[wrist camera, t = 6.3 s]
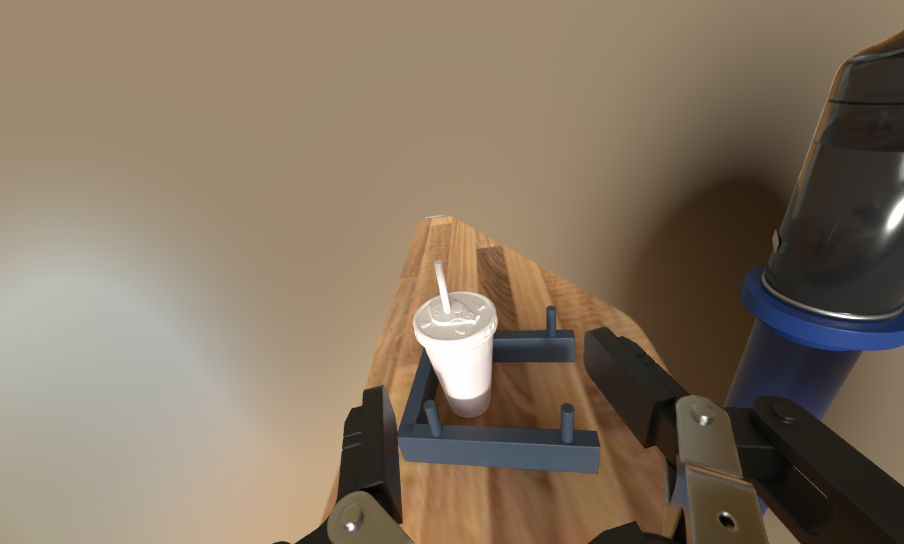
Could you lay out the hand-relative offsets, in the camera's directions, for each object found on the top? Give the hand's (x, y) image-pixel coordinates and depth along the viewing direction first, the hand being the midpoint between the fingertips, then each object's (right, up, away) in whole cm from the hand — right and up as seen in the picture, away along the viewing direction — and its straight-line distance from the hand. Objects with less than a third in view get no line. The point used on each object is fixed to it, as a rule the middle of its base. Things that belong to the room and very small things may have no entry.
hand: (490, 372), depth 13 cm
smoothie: (0, -8, +17) cm, 19 cm away
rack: (+3, -7, +17) cm, 18 cm away
